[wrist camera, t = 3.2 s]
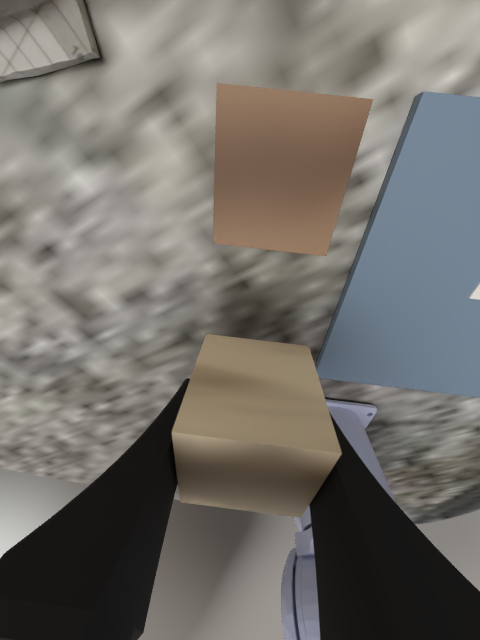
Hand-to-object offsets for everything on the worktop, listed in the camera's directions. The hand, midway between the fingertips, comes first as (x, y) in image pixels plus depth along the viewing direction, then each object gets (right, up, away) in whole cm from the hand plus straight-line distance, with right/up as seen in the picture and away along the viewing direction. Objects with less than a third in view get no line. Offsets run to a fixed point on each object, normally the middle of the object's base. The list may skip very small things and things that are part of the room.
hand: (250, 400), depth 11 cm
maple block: (0, +1, +1) cm, 2 cm away
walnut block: (+1, +12, +2) cm, 12 cm away
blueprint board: (+16, +6, +4) cm, 17 cm away
